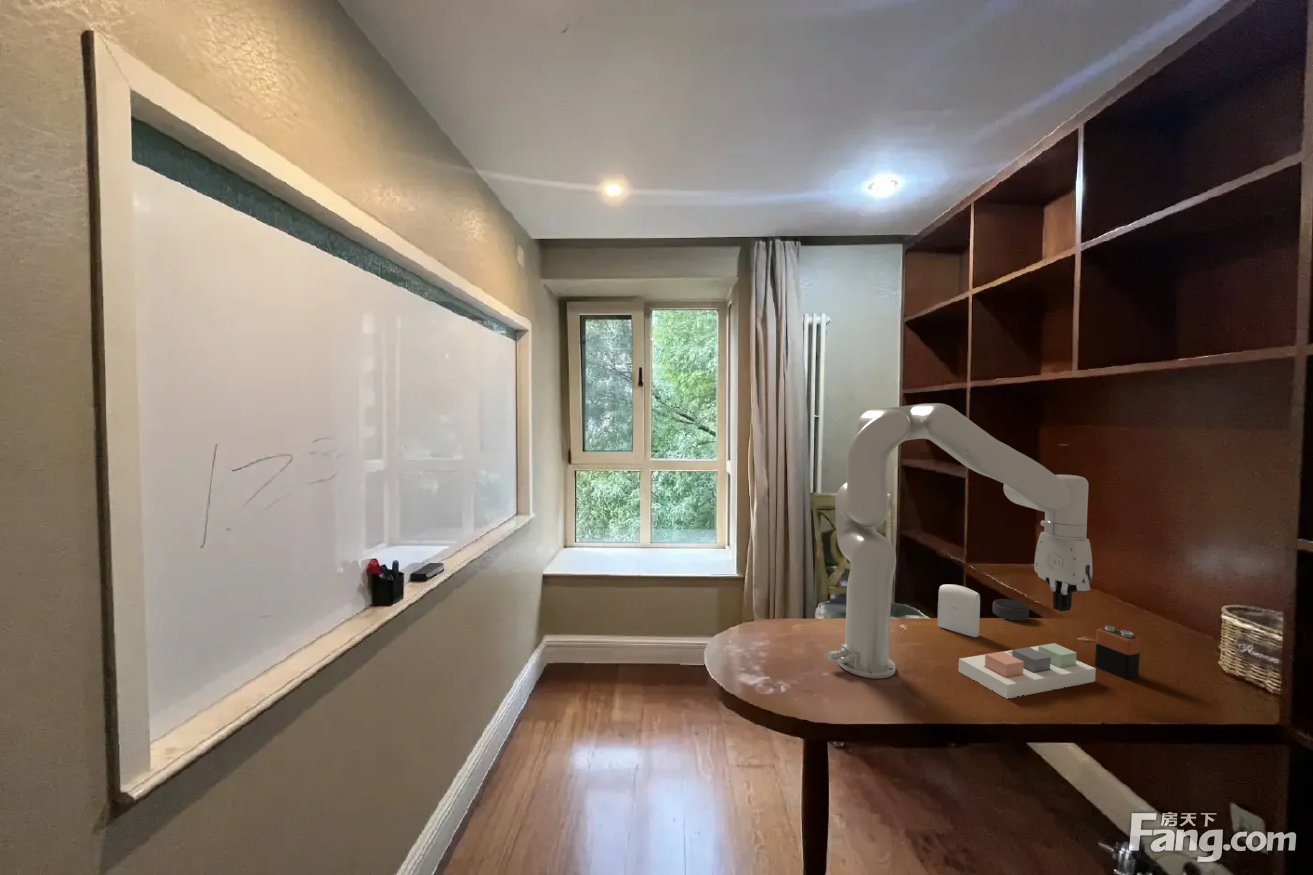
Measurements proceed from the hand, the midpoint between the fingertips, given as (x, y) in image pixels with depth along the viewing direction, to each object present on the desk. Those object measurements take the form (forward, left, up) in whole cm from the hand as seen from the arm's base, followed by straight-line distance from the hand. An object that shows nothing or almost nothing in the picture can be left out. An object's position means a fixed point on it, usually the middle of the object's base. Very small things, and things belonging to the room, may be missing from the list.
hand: (1061, 609), depth 121 cm
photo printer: (-2, +25, -15) cm, 30 cm away
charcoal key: (-8, 0, -12) cm, 15 cm away
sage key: (0, 0, -12) cm, 13 cm away
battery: (+15, -3, -15) cm, 21 cm away
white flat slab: (-8, +1, -15) cm, 17 cm away
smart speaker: (+22, +29, -16) cm, 39 cm away
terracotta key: (-16, 0, -13) cm, 21 cm away
